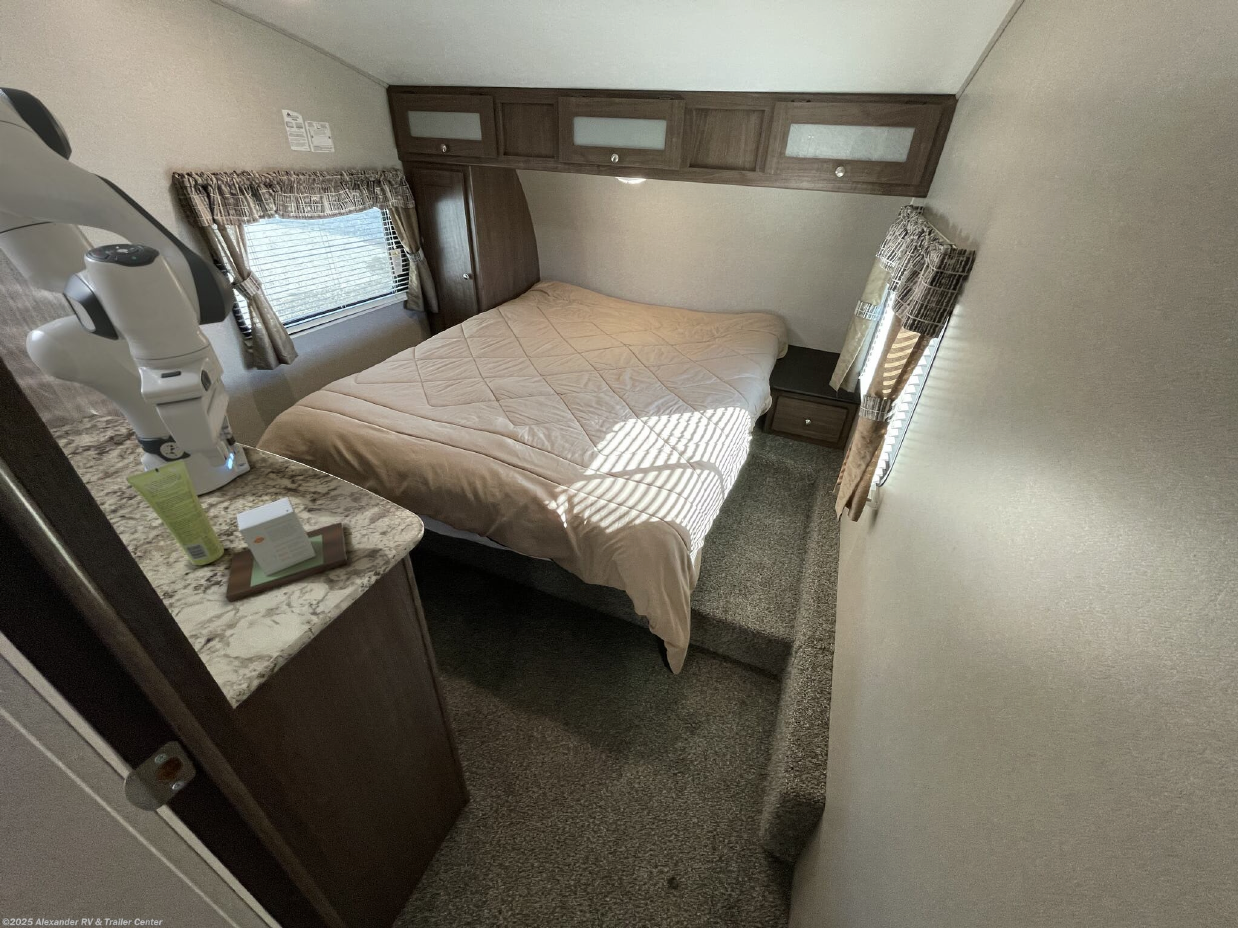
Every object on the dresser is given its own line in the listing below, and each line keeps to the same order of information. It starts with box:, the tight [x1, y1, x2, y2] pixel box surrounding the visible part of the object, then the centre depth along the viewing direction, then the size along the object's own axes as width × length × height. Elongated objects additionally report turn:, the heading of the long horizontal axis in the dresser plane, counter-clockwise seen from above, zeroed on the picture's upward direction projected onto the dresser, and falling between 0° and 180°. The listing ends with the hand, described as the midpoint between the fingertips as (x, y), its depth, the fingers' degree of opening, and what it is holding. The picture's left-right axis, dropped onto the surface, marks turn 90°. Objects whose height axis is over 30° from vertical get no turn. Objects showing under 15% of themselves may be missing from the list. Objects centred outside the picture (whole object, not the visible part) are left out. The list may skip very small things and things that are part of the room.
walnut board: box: [225, 522, 348, 603], centre depth 89 cm, size 12×18×1 cm, turn 119°
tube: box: [125, 459, 225, 566], centre depth 85 cm, size 6×5×20 cm
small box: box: [236, 496, 316, 576], centre depth 85 cm, size 8×6×10 cm
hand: (223, 450), depth 78 cm, fingers open, 8 cm apart
